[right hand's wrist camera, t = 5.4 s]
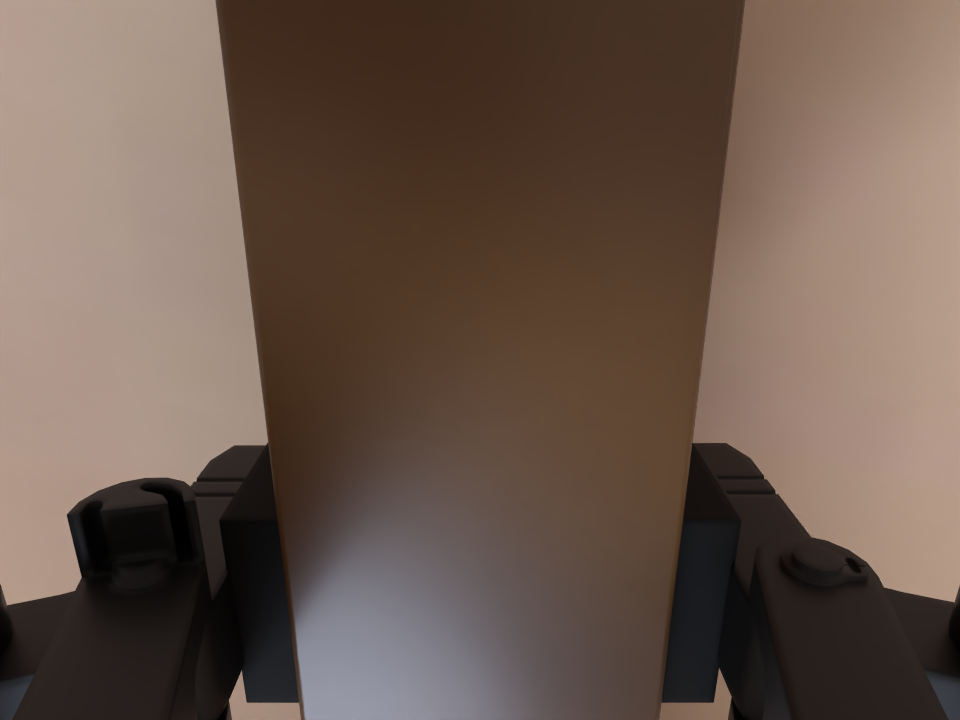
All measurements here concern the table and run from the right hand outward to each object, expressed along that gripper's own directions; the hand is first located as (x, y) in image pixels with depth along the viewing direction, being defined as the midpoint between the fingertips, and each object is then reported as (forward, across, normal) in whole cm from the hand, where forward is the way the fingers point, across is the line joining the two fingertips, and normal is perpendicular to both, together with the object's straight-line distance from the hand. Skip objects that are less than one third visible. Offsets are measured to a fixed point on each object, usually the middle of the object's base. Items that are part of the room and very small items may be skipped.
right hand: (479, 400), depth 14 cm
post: (+1, 0, -22) cm, 22 cm away
